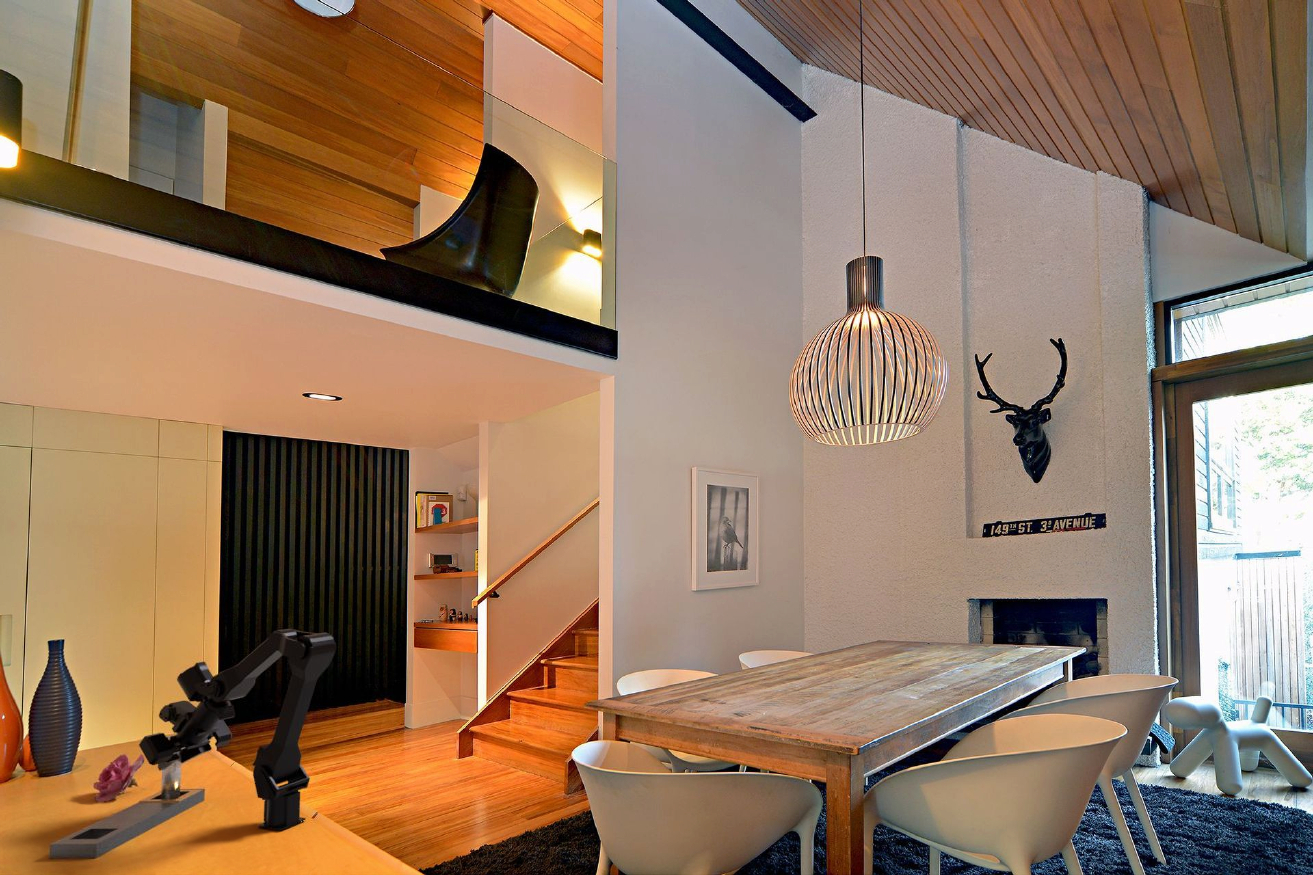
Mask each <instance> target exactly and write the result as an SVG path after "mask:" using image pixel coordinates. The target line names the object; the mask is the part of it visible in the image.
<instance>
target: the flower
mask: <svg viewBox="0 0 1313 875" xmlns="http://www.w3.org/2000/svg"><path fill="white" fill-rule="evenodd" d="M144 764H145V755H144V754H140V755H139V756H138V757H137V759H136V760H135V761H133V763H132V764H131V760H130V759H129V757H128V755H127V754H126V753H123V754H120V755H119V756H118V757H116V758H115V759H114V760H113V761H111V762H109V765H107V766H106V767H104V768H103V769H102V771H101V773H100V774H99V775H98V779H97V780H98V781H96V782H93V789H95V790H96V791H99V792H98V793H97V794H96V795H95V796H94V797H93V798H94V799H95V800H96V801H97V802H98V803H103V802H104V801H105V802H108V801H112V800H113V799H114V798H116V797H117V796H118V795H119V794H120V793H121V795H122V794H124V793H125V792H126V790H127V789H128V788H133V786H135V787H138V788H140V786H139V784H138V783H137V781H136V779H135V778H134V775H135V774H136V773H137V772H138V770H139V769H141V767H142V766H143V765H144ZM142 789H144V790H146V788H145V787H142Z"/></svg>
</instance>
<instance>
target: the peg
mask: <svg viewBox="0 0 1313 875" xmlns="http://www.w3.org/2000/svg"><path fill="white" fill-rule="evenodd" d="M175 735H176V734H173V735H167V736H166V737H168V739H169V738H170V737H171V736H175ZM169 740H170V739H169ZM178 756H179V758H180V759H179V760H177V761H176V762H174V763H172V764H171V765H169V766H168V767H166V768H165V769H163V770H161V787H160V789H161V790H160V791H161V799H176V798H178V797H180V789H181V783H182V781H181V779H182V764H183V763H182V749H181V751H180V752H179V753H178ZM181 763H182V764H181Z"/></svg>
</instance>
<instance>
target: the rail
mask: <svg viewBox="0 0 1313 875" xmlns="http://www.w3.org/2000/svg"><path fill="white" fill-rule="evenodd" d="M205 790H206V789H205V788H180V797H178V798H176V799H161V790H159V791H157V792H155V793H152V794H151V795H149V796H146V797H145V798H143V799H140V800H139V801H138V802H136V803H134V804H132V805H130V806H128V807H126V808H123V809H122V810H119V811H117V812H116V813H113V814H111V815H108V816H107V817H105V818H103V819H100V820H97V821H96V822H94V823H92V824H90V825H88V826H85V827H84V828H81V829H79V830H78V831H75V832H73V833H70V834H69V835H67V836H65V837H62V838H61V839H58V840H56V841H54V842H52V843H50V844H49V854H48V858H54V859H97V858H100V857H101V856H103V855H104V854H106V853H108V852H111V851H113V850H114V849H116V848H117V847H120V846H122V845H124V844H126V843H127V842H129V841H130V840H133V839H135V838H136V837H139V836H140V835H142V834H143V833H144V834H145V832H148V831H149V830H151V829H153V828H156V827H157V826H158V825H161V824H163V823H165V822H166V821H168V820H170V819H172V818H174V817H175V816H178V815H179V814H182V813H183V812H185V811H187V810H189V809H190V808H193V807H195V806H196V805H198V804H200V803H201V802H202V803H203V802H204V801H205V796H206V795H205V793H206V792H205Z"/></svg>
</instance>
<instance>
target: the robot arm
mask: <svg viewBox="0 0 1313 875" xmlns="http://www.w3.org/2000/svg"><path fill="white" fill-rule="evenodd" d="M336 650H337V643H336V641H335V639H334V637H333V635H331V634H330V633H328V632H321V633H320V632H319V633H316V632H307V631H301V630H297V629H293V628H286V629H279V630H275V631H273V632H272V633H270V634H269V636H268V638H267V639H266V640H264V641H263V642H262V643H261V644H260V645H258V646H257V647H256V648H255V649H254V650H253V651H252V652H251V653H250V654H248V655H247V656H246V657H244V659H242V660H241V661H240V662H239V663H238V664H236V665H234V666H232V667H230V668H227V669H224V670H223V671H220V672H219V673H217V674H215V675H213V674H212V673H211V671H210V669H209V666H208V665H207V663H206V661H199V662H195V664H194V665H193V666H190V667H189V668H187V669H186V670H184V671H182V672H180V673H179V675H178V676H177V678H176V681H177V683H178V684H179V686H180V688H181V689H182V691H183V693H184V694H185V696H186V697H187V699H188V700H179V701H174V702H170V703H168V704H167V705H164V706H163V707H162V708H161V709H160V711H159V714H158V717H159V719H160V720H162V721H163V722H164V723H167V722H169V723H171V724H172V725H173V726H172V728H171V730H172V732H173V734H174V735H175V736H171V735H170V736H171V737H170V738H169V739H170V740H169V739H168V737H167V736H166V734H165V733H164V732H157V733H153V734H148V735H145V736H144V737H143V738H142V739H141V740H140V742H139V744H138V747H139V748H140V750H141V751H142V753H143V756H144V758H145V759H146V761H147V762H148V764H149V765H151V766H157V769H158V771H161V772H162V770H163V769H165V768H166V767H168V766H169V765H171V764H172V763H174V762H176V761H177V760H179V759H180V758H179V756H178V753H179V752H180V751H181V749H182V763H181V765H182V764H184V763H186V762H188V761H190V760H192V759H194V758H197V757H198V756H201V755H203V754H206V753H208V752H210V751H211V750H212V746H211V745H210V744H211V740H212V739H213V738H214V739H215V741H216V742H215V743H214V745H215V747H216V748H221V747H224V746H227V745H228V744H229V743H230V742H231V740H232V738H233V733H232V732H231V730H230V728H229V727H228V726H227V724H226V722H225V721H224V720H226V719H227V720H228V719H233V718H235V716H236V712H235V710H234V705H233V704H232V703H231V701H233V700H237V699H240V698H241V699H242V698H244V697H246V696H247V694H249V692H250V691H251V690H252V688H253V687H254V686H255V684H256V679H257V678H258V677H259V676H260V675H261V674H262V673H263V672H264V671H266V670H267V669H268V668H269V667H271V666H272V665H273V663H276V661H277V660H279V659H280V658H281V657H282V656H283V657H286V658H288V665H289V667H290V670H291V674H292V676H291V679H290V681H289V684H288V688H287V691H286V694H285V698H284V701H283V705H282V708H281V712H280V714H279V718H278V721H277V724H276V727H275V731H274V733H273V738H272V740H271V741H270V742H269V743H267V744H263V745H260V746H259V747H258V749H257V751H256V757H255V759H254V762H253V763H252V766H253V769H252V770H253V771H252V776H253V781H254V785H255V786H254V787H255V791H256V795H257V798H258V799H262V801H264V802H263V803H264V804H263V822H261V823H258V825H257V828H259V829H267V830H271V829H274V830H273V831H278V830H279V831H280V830H281V831H284V830H286V828H287V829H289V828H291V827H293V826H292V825H294V826H296V825H298V824H300V823H299V822H301V821H303V820H305V821H306V817H301V816H300V815H301V814H300V812H301V811H300V810H301V791H300V790H303V789H307V788H308V787H309V783H310V776H309V775H308V773H307V772H306V770H305V769H304V767H303V766H302V764H301V761H302V752H301V750H300V747H299V741H300V737H301V733H302V730H303V726H304V724H305V720H306V718H307V714H308V711H309V708H310V705H311V701H312V698H313V694H314V692H315V689H316V684H317V682H318V679H319V678H320V676H322V674H323V673H324V672H325V671H326V669H327V668H328V667H329V666H330V664H331V662H332V661H333V658H334V656H335V654H336ZM191 702H197V703H198V705H194V704H193V703H191ZM175 733H176V734H175ZM286 782H287V783H286ZM283 783H284V784H283ZM280 784H282V785H280ZM278 785H279V786H278ZM303 822H304V821H303ZM297 823H298V824H297ZM301 823H302V822H301ZM290 826H291V827H290ZM288 827H289V828H288ZM275 829H276V830H275ZM283 829H284V830H283ZM279 831H278V832H279ZM281 831H280V832H281Z"/></svg>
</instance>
